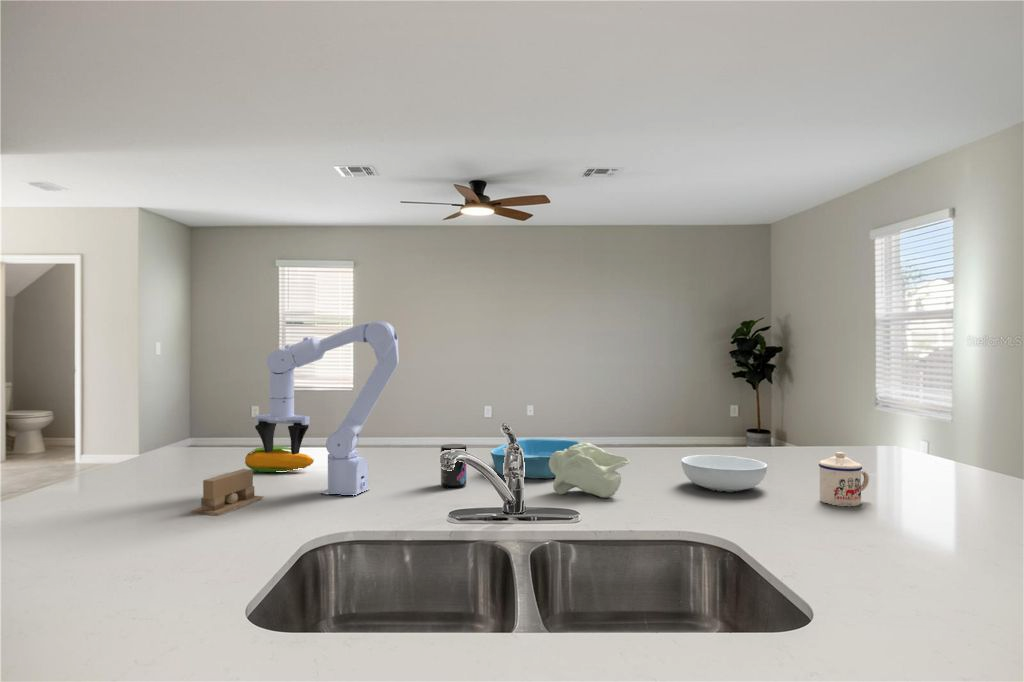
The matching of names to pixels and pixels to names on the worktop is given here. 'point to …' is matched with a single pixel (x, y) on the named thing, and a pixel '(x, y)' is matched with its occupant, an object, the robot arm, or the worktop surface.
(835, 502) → the teacup with lid
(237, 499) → the display stand
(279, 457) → the corn
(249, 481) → the long wooden plank
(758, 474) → the serving bowl
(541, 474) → the casserole dish
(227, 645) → the worktop surface
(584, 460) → the folded clay sculpture
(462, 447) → the supplement container
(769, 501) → the worktop surface
